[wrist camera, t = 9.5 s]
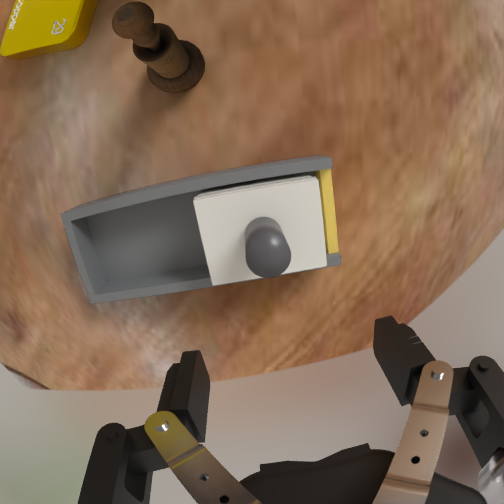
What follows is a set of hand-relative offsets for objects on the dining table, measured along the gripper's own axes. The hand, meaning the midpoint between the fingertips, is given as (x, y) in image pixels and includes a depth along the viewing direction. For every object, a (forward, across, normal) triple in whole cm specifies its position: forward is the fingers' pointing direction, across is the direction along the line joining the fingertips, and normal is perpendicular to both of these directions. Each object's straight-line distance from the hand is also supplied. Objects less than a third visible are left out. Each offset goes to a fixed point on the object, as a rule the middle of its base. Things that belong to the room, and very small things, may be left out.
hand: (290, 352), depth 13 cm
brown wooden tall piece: (+26, +6, -20) cm, 34 cm away
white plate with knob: (+25, 0, 0) cm, 25 cm away
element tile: (+27, +23, -37) cm, 51 cm away
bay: (+26, +8, 0) cm, 27 cm away
